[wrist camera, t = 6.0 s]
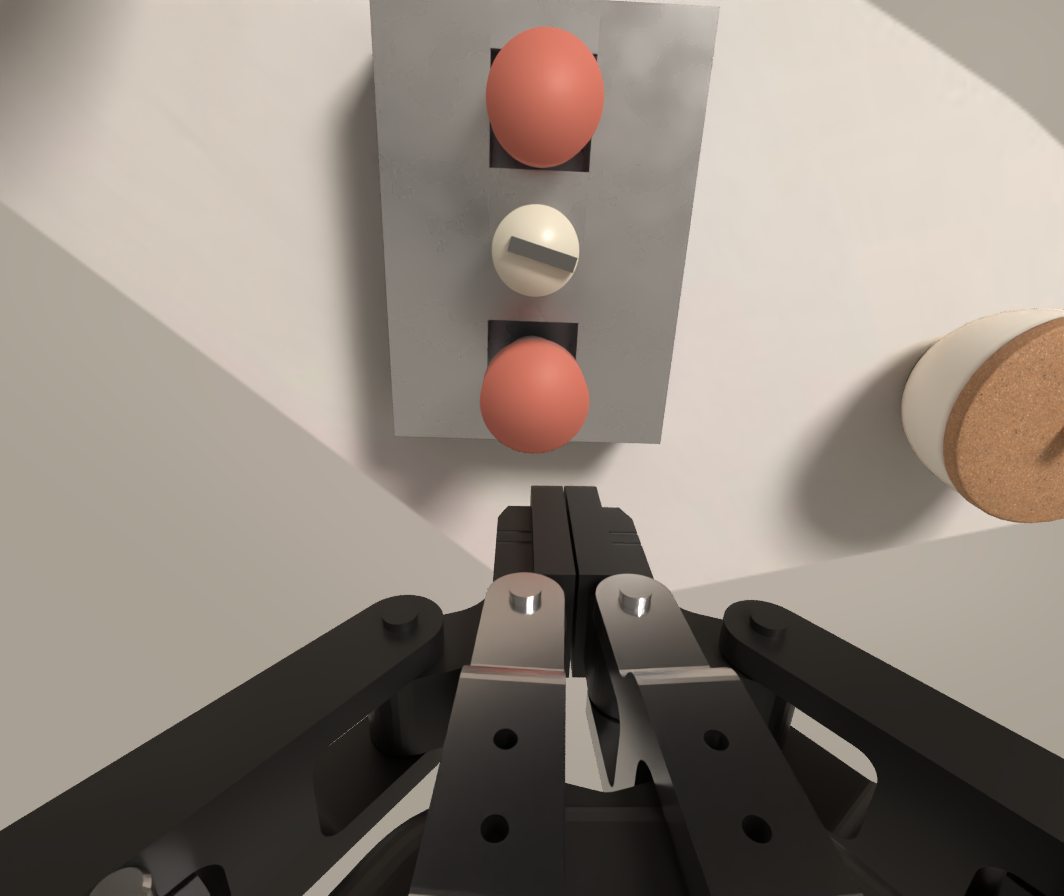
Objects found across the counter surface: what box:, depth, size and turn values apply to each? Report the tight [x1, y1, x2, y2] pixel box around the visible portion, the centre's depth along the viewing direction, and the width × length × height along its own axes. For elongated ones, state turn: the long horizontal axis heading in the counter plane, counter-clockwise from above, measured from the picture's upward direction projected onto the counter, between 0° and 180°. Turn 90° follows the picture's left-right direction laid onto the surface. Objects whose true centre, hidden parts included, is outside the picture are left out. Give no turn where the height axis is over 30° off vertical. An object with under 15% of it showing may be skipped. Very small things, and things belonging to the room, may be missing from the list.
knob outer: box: [480, 336, 589, 453], centre depth 25 cm, size 4×4×6 cm
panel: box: [370, 0, 720, 444], centre depth 28 cm, size 14×19×5 cm
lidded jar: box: [902, 308, 1064, 523], centre depth 30 cm, size 11×11×9 cm
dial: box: [492, 204, 579, 297], centre depth 24 cm, size 4×4×4 cm
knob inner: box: [486, 27, 604, 168], centre depth 24 cm, size 4×4×6 cm
